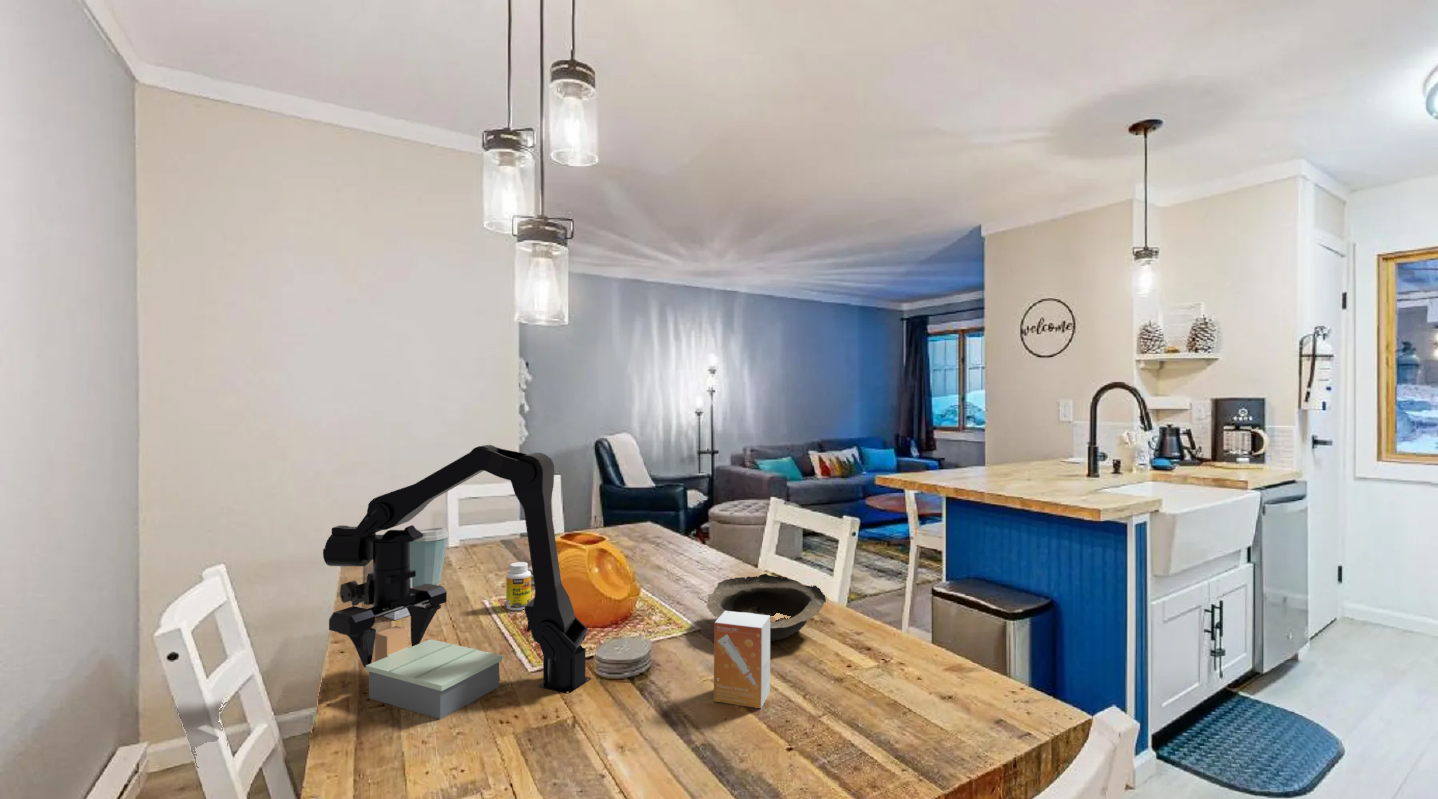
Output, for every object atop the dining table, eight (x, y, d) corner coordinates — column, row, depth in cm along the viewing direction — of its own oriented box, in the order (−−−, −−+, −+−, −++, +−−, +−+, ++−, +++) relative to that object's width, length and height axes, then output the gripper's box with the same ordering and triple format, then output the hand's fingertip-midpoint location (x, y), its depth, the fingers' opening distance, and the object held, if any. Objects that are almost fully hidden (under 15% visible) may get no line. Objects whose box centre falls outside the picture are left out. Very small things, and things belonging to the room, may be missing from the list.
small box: (713, 702, 102) (713, 621, 102) (724, 685, 108) (724, 609, 108) (761, 710, 99) (762, 627, 99) (770, 692, 105) (770, 614, 105)
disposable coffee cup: (394, 591, 161) (394, 532, 161) (421, 579, 171) (421, 524, 171) (432, 593, 159) (432, 533, 159) (457, 581, 169) (457, 525, 169)
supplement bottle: (509, 613, 144) (510, 568, 144) (503, 606, 149) (503, 563, 149) (534, 608, 147) (534, 564, 147) (527, 602, 152) (527, 559, 152)
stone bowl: (791, 605, 149) (793, 567, 148) (845, 654, 125) (847, 609, 125) (691, 615, 141) (692, 575, 140) (727, 669, 117) (729, 620, 117)
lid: (502, 672, 106) (502, 636, 106) (441, 704, 94) (441, 664, 95) (416, 651, 114) (416, 618, 114) (351, 678, 103) (351, 642, 103)
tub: (499, 690, 106) (499, 660, 106) (440, 723, 95) (440, 689, 95) (431, 672, 113) (431, 644, 113) (369, 701, 102) (369, 670, 102)
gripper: (406, 549, 120) (406, 631, 120) (307, 574, 103) (307, 669, 103) (448, 556, 115) (448, 641, 115) (352, 582, 98) (352, 682, 98)
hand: (391, 657), depth 108 cm, fingers open, 9 cm apart
